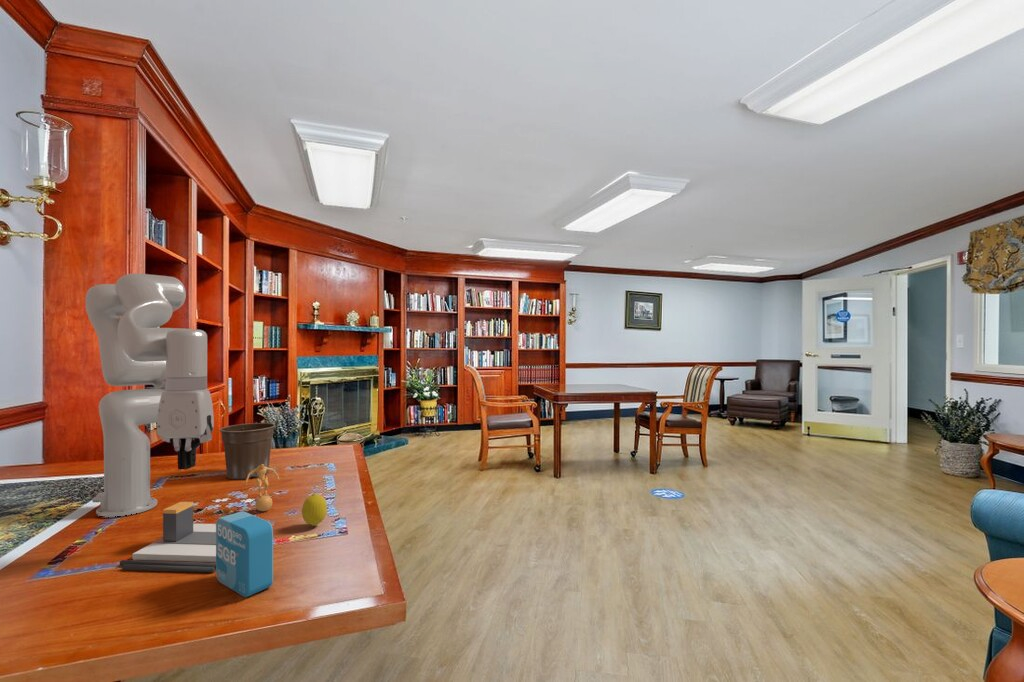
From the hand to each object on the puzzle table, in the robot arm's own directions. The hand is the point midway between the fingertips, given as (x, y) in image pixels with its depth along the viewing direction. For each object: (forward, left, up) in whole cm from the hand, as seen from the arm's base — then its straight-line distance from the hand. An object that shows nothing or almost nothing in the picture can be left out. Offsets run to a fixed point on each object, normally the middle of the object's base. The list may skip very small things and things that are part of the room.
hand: (186, 467), depth 105 cm
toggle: (-2, 0, -15) cm, 15 cm away
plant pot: (-19, +52, -17) cm, 58 cm away
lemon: (+24, +11, -17) cm, 31 cm away
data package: (+24, -16, -17) cm, 33 cm away
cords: (+5, -11, -17) cm, 20 cm away
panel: (+5, 0, -17) cm, 17 cm away
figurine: (+5, +21, -17) cm, 27 cm away
